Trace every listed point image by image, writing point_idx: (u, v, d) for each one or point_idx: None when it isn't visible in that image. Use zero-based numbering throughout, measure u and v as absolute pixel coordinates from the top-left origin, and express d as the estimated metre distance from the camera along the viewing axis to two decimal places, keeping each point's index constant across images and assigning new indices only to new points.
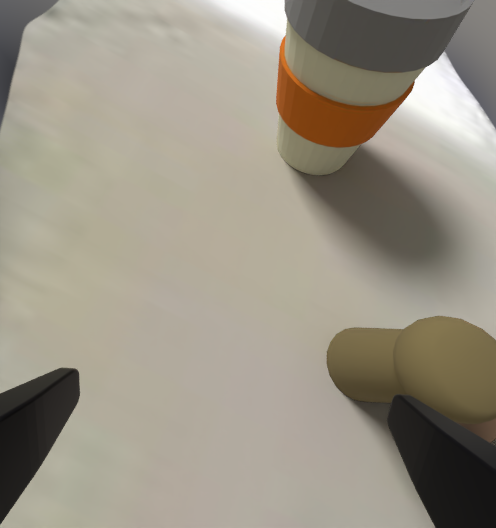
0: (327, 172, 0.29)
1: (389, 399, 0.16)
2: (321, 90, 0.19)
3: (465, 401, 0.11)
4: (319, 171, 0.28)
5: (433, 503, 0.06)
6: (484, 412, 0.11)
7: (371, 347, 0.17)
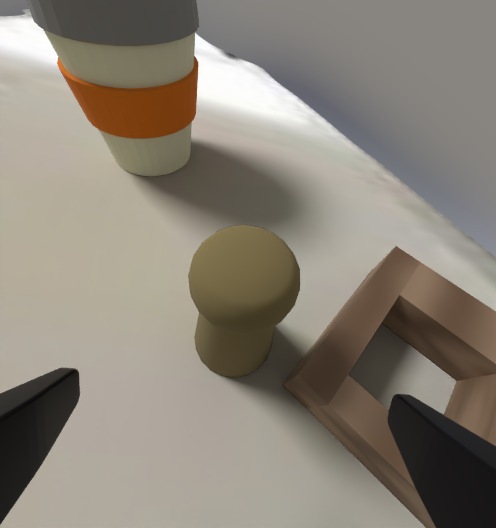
0: (170, 170, 0.29)
1: (235, 351, 0.14)
2: (97, 79, 0.20)
3: (237, 296, 0.10)
4: (160, 170, 0.28)
5: (433, 503, 0.06)
6: (261, 301, 0.10)
7: None
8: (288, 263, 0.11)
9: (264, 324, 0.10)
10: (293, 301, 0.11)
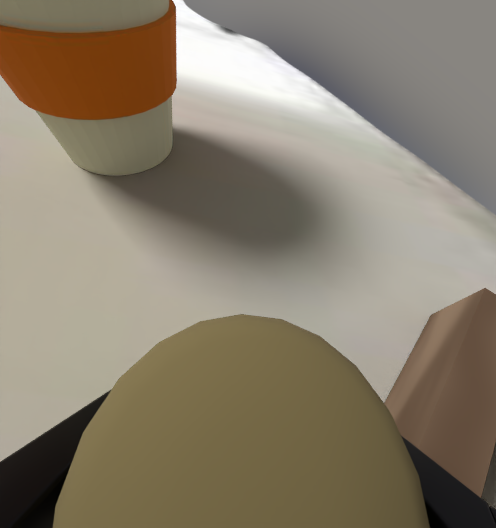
0: (142, 167, 0.21)
1: None
2: None
3: None
4: (128, 167, 0.20)
5: None
6: None
7: None
8: (404, 500, 0.03)
9: None
10: None
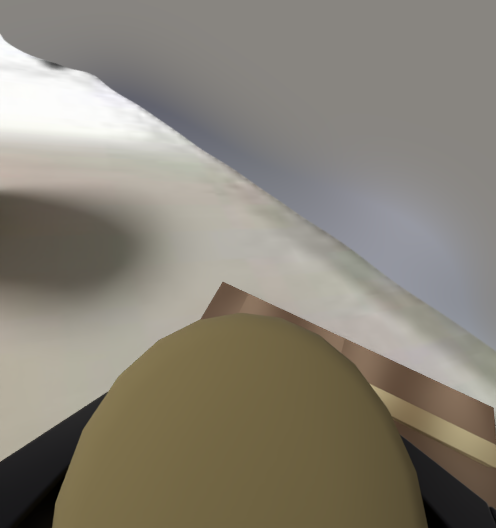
0: None
1: None
2: None
3: None
4: None
5: None
6: None
7: None
8: (401, 497, 0.03)
9: None
10: None
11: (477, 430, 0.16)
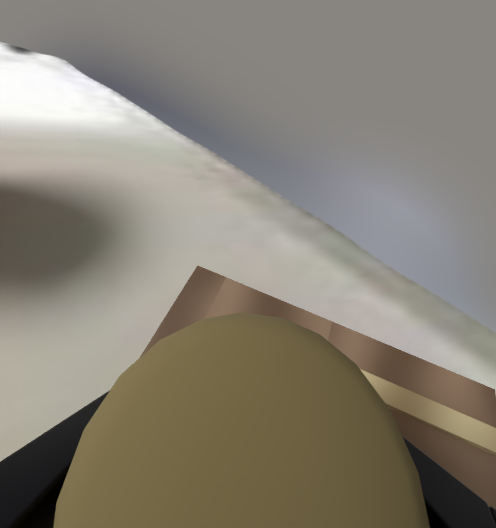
0: None
1: None
2: None
3: None
4: None
5: None
6: None
7: None
8: (404, 497, 0.03)
9: None
10: None
11: (478, 414, 0.14)
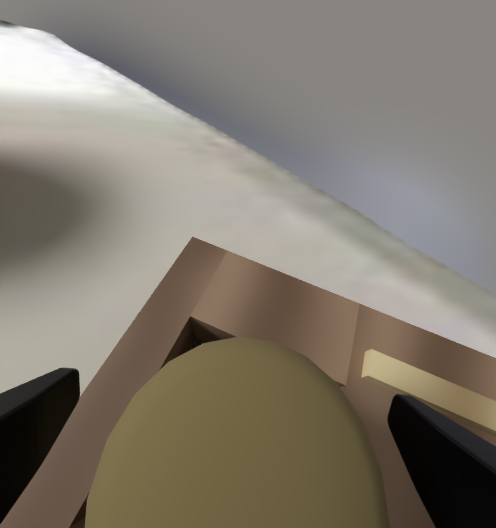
0: None
1: None
2: None
3: None
4: None
5: (433, 503, 0.06)
6: None
7: None
8: (366, 496, 0.04)
9: None
10: None
11: None
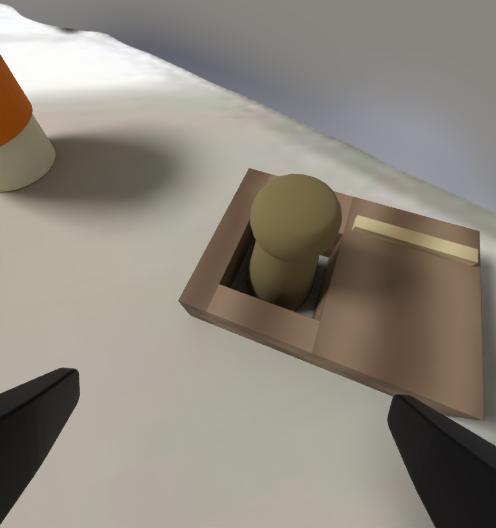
0: (38, 175, 0.29)
1: (286, 283, 0.17)
2: None
3: (294, 227, 0.12)
4: (27, 178, 0.28)
5: (433, 503, 0.06)
6: (313, 229, 0.12)
7: (255, 246, 0.18)
8: (332, 200, 0.13)
9: (315, 249, 0.13)
10: (337, 230, 0.13)
11: (464, 245, 0.20)
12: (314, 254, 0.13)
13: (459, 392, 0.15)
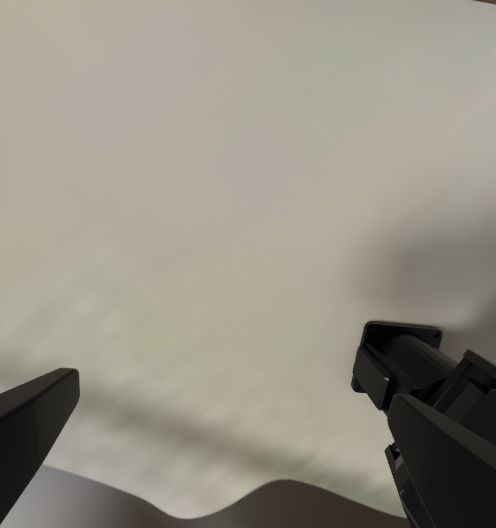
0: None
1: None
2: None
3: None
4: None
5: (433, 503, 0.06)
6: None
7: None
8: None
9: None
10: None
11: None
12: None
13: None
